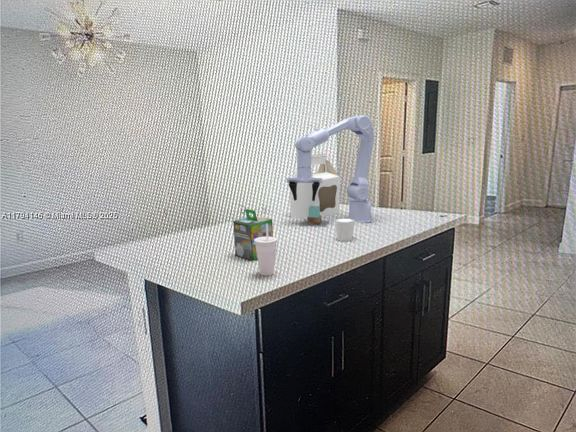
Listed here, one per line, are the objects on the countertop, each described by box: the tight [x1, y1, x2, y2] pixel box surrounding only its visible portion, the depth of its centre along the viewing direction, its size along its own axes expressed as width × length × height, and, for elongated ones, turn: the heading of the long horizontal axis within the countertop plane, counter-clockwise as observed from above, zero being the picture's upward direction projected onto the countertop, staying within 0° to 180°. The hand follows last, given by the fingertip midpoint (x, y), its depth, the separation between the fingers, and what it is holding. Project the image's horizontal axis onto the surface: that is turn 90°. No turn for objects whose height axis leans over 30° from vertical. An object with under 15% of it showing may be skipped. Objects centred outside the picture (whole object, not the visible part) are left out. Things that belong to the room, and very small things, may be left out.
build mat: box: [298, 219, 330, 228], centre depth 170 cm, size 11×11×1 cm
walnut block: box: [306, 215, 322, 225], centre depth 170 cm, size 5×5×3 cm
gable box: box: [289, 153, 340, 220], centre depth 186 cm, size 22×13×28 cm, turn 144°
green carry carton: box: [232, 208, 274, 262], centre depth 128 cm, size 9×9×15 cm
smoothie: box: [254, 224, 278, 277], centre depth 110 cm, size 6×6×14 cm
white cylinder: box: [334, 218, 355, 242], centre depth 145 cm, size 7×7×7 cm
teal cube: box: [309, 206, 320, 218], centre depth 169 cm, size 4×4×4 cm
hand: (304, 200), depth 167 cm, fingers open, 7 cm apart
